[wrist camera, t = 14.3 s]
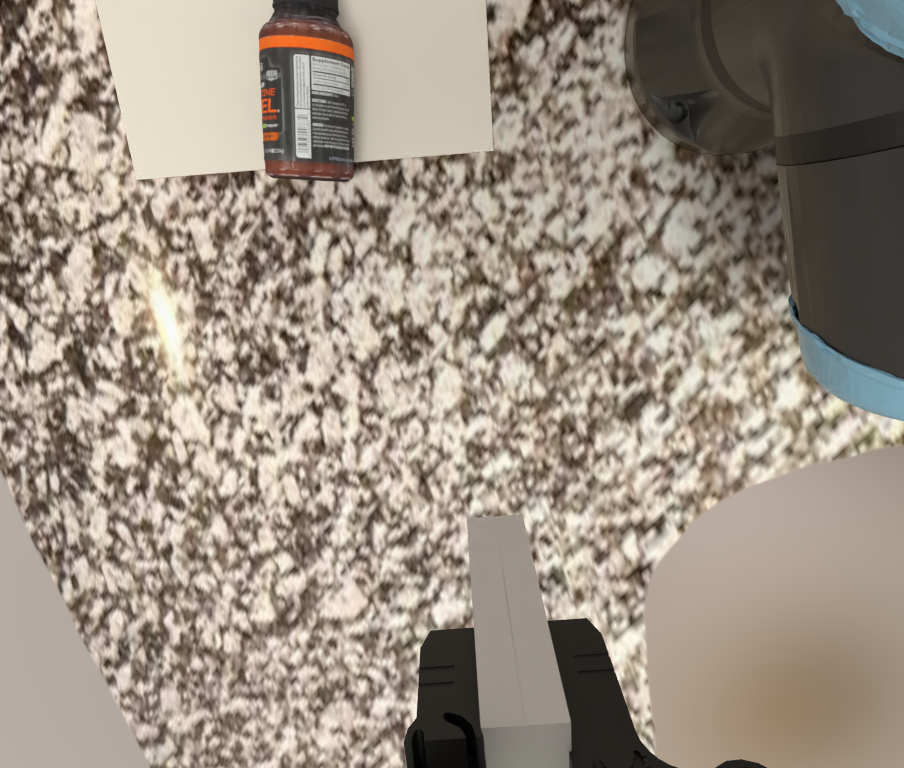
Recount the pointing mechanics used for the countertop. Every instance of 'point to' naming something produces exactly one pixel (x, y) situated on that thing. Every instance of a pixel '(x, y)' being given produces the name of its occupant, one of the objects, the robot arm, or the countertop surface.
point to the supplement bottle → (307, 92)
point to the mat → (239, 90)
